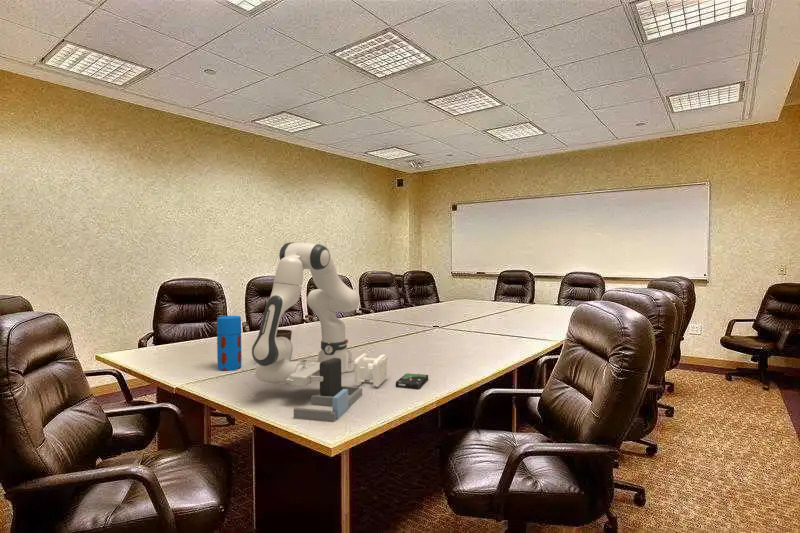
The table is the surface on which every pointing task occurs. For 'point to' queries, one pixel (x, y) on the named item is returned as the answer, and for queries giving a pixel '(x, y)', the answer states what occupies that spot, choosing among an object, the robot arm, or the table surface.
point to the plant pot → (284, 333)
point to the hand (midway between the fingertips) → (328, 375)
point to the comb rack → (338, 402)
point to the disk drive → (412, 381)
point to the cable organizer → (370, 369)
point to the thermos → (229, 343)
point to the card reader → (330, 377)
